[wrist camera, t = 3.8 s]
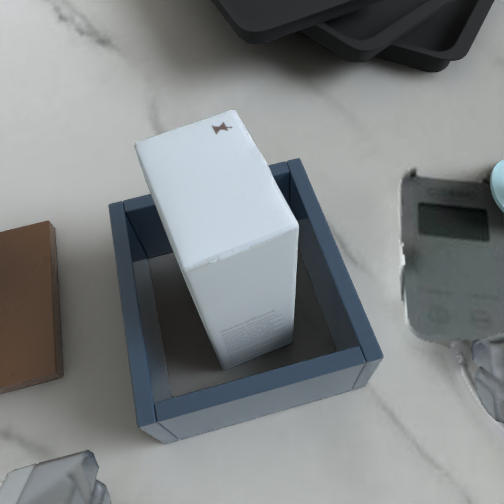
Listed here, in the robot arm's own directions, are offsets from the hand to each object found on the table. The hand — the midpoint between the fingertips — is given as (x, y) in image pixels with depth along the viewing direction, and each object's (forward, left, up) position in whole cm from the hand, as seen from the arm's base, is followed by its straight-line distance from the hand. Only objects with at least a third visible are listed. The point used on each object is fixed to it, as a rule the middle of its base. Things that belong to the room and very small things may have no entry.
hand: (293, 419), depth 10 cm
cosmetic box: (0, +9, -14) cm, 17 cm away
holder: (0, +9, -14) cm, 17 cm away
